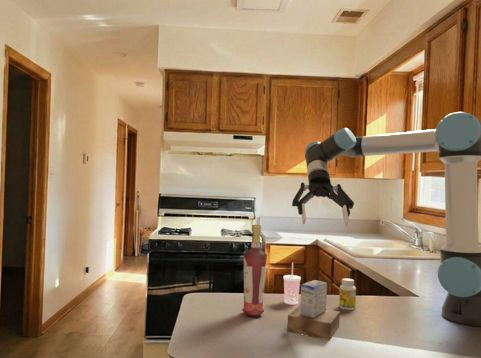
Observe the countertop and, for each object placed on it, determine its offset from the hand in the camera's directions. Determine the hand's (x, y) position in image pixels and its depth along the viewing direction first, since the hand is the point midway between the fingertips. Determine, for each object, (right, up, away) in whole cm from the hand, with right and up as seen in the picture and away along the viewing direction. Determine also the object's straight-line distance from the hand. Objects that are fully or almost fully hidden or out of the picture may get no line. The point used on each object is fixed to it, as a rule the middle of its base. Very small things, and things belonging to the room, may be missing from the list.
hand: (325, 222), depth 129 cm
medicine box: (-6, -25, -13) cm, 29 cm away
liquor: (-23, -29, -2) cm, 37 cm away
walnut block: (-6, -30, -13) cm, 33 cm away
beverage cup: (-9, -30, +13) cm, 34 cm away
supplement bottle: (+9, -30, +9) cm, 33 cm away
